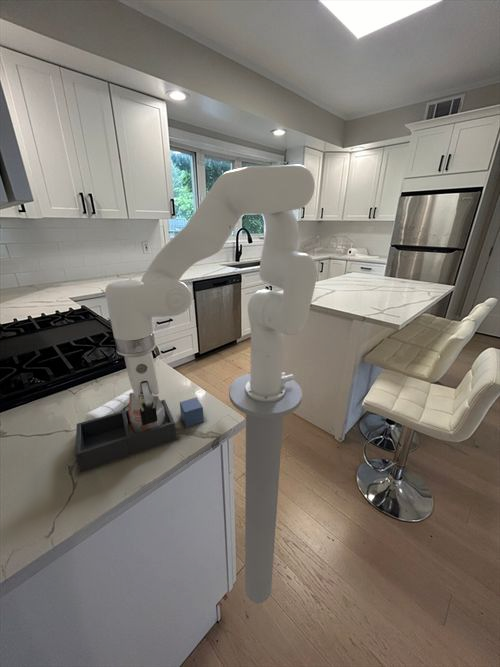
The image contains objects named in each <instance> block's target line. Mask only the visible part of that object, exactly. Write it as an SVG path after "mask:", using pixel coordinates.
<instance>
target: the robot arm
mask: <svg viewBox="0 0 500 667" xmlns="http://www.w3.org/2000/svg"><path fill="white" fill-rule="evenodd" d="M315 184H316V183H315V178H314V175H313V173H312V172H311V170H310V169H309V168H308V167H306V166H305V165H303V164H281V165H251V166H250V165H249V166H245V167H240V168H236V169H232V170H227V171H225V172H224V173H222V174H220V176H218V178H217V179H216V180H215V181H214V182H213V184H212V186H211V187H210V189H209V190H208V192H207V193H206V195H205V196H204V198H203V199H202V201H201V203H200V204H199V206H198V207H197V209H196V210H195V212H194V213H193V214H192V216H191V218H190V219H189V220H188V222H187V224H185V226H184V227H183V228H182V229H181V230H180V231H179V232H177V233H176V234H175V235H174V236H173V238H171V239H170V240H169V241H168V242H167V243H166V244H165V245H164V246H163V247H162V248H161V250H160V251H159V252H158V253H157V254H156V255H155V257H154V258H153V260H152V261H151V263H150V264H149V266H148V267H147V269H146V271H145V272H144V274H143V275H142V277H141V279H140V280H137V279H136V280H135V279H124V280H116V281H113V282H111V283H108V284H107V285H106V287H105V291H104V292H105V299H106V303H107V308H108V309H107V310H108V315H109V318H110V326H111V330H112V334H113V339H114V344H115V345H114V346H115V350H116V351H115V352H116V353H117V354H118V355H119V356H123V357H124V362H125V367H126V372H127V376H128V380H129V383H130V386H131V389H133V392H134V395H135V398H136V399H139V402H140V407H141V409H140V415H141V421H142V425H147V424H150V423H153V422H156V421H157V420H158V419H157V412H156V406H155V404H154V399H153V395H154V396H157V395H159V393H160V389H159V382H158V377H157V371H156V365H155V361H154V356H153V352H152V351H154V350H155V348H156V341H155V333H154V326H153V318H158V317H159V318H160V317H161V318H163V317H164V318H165V317H175V316H179V315H182V314H184V313H185V312H187V311H188V309H189V308H190V307H191V305H192V301H193V296H192V295H193V294H192V292H191V289H190V288H189V287H188V285H186V284H185V283H184V282H182V281H181V278H182V277H183V275H184V274H185V273H186V272H187V271H188V270H189V269H190V268H191V267H192V266H193V265H195V264H196V263H198V262H200V261H203V260H205V259H208V258H211V257H213V256H214V255H216V254H217V253H219V252H220V251H221V250H222V249H223V247H224V245H225V244H226V242H227V241H228V240H229V238H230V236H231V235H232V233H233V231H234V230H235V229H236V227H237V225H238V224H239V223H240V221H241V219H242V218H243V216H245V215H247V216H249V215H261V216H262V220H263V222H264V237H263V238H264V239H263V244H262V251H261V257H260V263H259V269H258V271H259V272H258V274H259V278H260V280H261V281H262V282H263V283H264V284H266V285H269V286H270V287H275V288H278V289H282V291H283V292H278V291H275V290H270V289H261V290H257V291H255V292H254V293H253V294H252V295H251V296H250V298H249V300H248V303H247V315H248V321H249V327H250V381H249V382H247V384H246V386H245V391H246V394H247V395H248V396H249V397H250V398H252V399H254V400H257V401H261V402H273V401H277V400H279V399H281V398H282V397H283V396H284V395H285V392H286V387H285V385H284V384H285V383H286V382H287V381H291V380H294V381H295V376H294V374H293V373H290V374H287V373H286V372H285V371H284V372H283V360H284V359H283V358H284V346H285V338H284V335H287V336H295V335H297V334H299V333H300V332H301V331H302V330H303V329H304V327H305V325H306V323H307V320H308V318H309V315H310V311H311V310H310V309H311V307H312V306H311V305H312V301H313V296H314V292H315V287H316V283H317V279H318V278H317V277H318V271H317V264H316V262H315V259H314V258H313V257H312V256H311V255H310V254H308V253H305V252H301V251H297V244H298V239H299V223H298V220H297V217H296V214H295V213H294V211H296V210H300V209H303V208H304V207H306V206H307V205H308V204H309V203H310V202H311V200H312V199H313V196H314V193H315V188H316V186H315ZM140 394H143V395H142V396H140ZM143 398H144V402H145V403H143V402H142V399H143Z"/></svg>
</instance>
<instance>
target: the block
mask: <svg viewBox="0 0 500 667" xmlns="http://www.w3.org/2000/svg"><path fill="white" fill-rule="evenodd" d="M179 408H180V417H181V419H182V421H183V423H184V426H185V428H188V427H192V426H195V425H197V424H200V423H204V407H203V405H202V403H201V402H200V400H199V398H198V396H197V397H192V398H189V399H186V400H183V401H179Z"/></svg>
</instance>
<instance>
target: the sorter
mask: <svg viewBox="0 0 500 667" xmlns="http://www.w3.org/2000/svg"><path fill="white" fill-rule="evenodd" d="M160 401H161V403H162V404H163V406H164V410H165V417H166V424H163V425H160V426H157V427H154V428H151V429H148V430H144V431H141V432H138V433H132V428H131V423H130V418H129V413H128V411H129V408H128V409H125V410H124V409H123V410H122V411H120V412H117V413H114V414H110V415H107V416H103V417H99V418H96V419H92V420H88V421H85V420H84V421H82V422H78V423H76V432H75V452H74V455H75V459H76V461H77V466H78V468H79V472H80V473H82V472H85V471H89V470H91V469H94V468H97V467H100V466H102V465H106V464H108V463H112V462H114V461H117V460H120V459H122V458H123V459H124V458H126V457H129V456H132V455H134V454H137V453H141V452H143V451H146V450H149V449H152V448H154V447H158V446H160V445H164V444H166V443H169V442H172V441H175V440H177V439H178V437H177V428H176V422H175V420H174V418H173V415H172V413H171V410H170V408H169V406H168V403H167V401H166V399H161V400H160Z"/></svg>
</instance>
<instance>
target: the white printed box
mask: <svg viewBox="0 0 500 667" xmlns="http://www.w3.org/2000/svg"><path fill="white" fill-rule="evenodd" d="M142 395H143V394H140V396H142ZM153 399H154V404H155V406H156V412H157V419H158V420H157V421H156V422H153V423H150V424H147V425H142V421H141V415H140V409H141V407H140V402H139V399H136V398H135V395H134V393H131V392H130V400H129V404H128V409H129V411H128V413H129V418H130V423H131V428H132V433H138V432H141V431H144V430H148V429H151V428H154V427H157V426H160V425H163V424H166V417H165V410H164V406H163V404H162V403H161V400H160V398H159V395H154V394H153ZM142 402H143V403H145V402H144V398H143V399H142Z"/></svg>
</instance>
